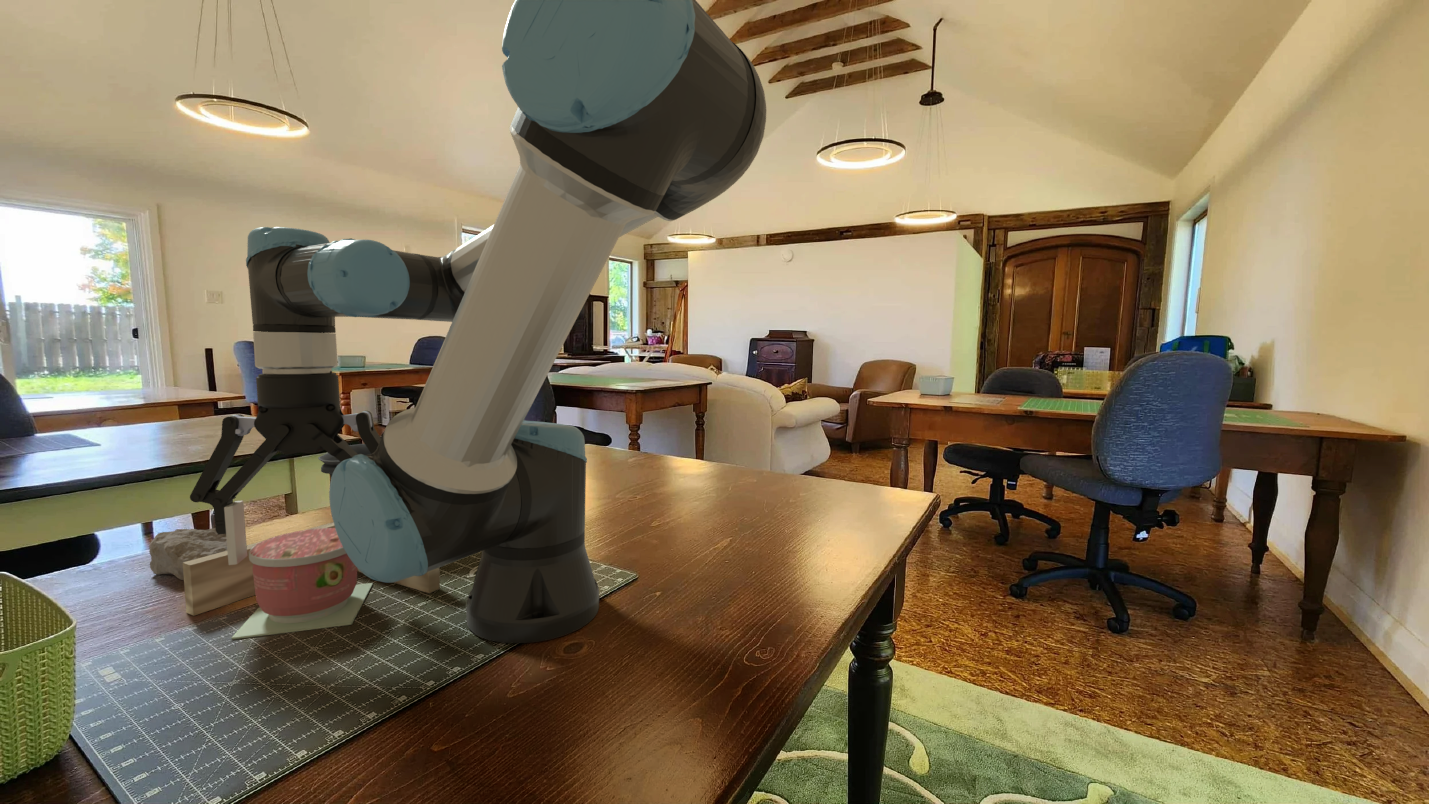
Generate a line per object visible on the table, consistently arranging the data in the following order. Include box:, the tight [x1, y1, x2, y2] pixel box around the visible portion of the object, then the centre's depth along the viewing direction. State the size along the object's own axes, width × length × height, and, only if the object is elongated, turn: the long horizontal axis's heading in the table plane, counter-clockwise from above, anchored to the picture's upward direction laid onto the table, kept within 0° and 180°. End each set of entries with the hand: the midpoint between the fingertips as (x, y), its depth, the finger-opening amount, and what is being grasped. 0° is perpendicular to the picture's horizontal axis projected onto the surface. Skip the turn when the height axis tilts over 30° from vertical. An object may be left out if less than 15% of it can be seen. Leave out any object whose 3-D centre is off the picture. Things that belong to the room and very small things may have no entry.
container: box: [249, 528, 358, 623], centre depth 67 cm, size 10×10×8 cm
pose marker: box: [230, 582, 374, 640], centre depth 67 cm, size 11×11×1 cm
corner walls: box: [183, 521, 441, 617], centre depth 69 cm, size 20×18×6 cm
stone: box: [148, 527, 227, 581], centre depth 76 cm, size 8×10×6 cm
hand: (309, 553), depth 66 cm, fingers open, 13 cm apart
